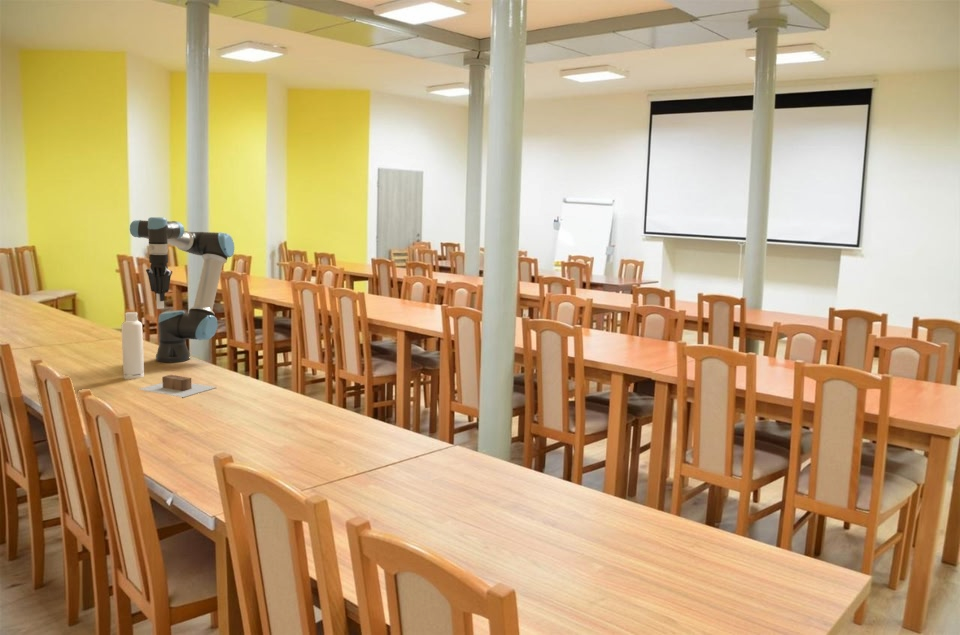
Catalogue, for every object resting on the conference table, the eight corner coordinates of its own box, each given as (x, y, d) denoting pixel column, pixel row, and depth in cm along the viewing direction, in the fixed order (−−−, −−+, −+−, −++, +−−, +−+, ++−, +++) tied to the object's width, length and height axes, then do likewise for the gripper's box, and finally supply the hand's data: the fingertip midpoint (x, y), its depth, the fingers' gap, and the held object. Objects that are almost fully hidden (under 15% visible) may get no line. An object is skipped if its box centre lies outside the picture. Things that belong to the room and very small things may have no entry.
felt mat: (172, 380, 320) (172, 380, 320) (216, 388, 310) (216, 387, 310) (137, 390, 304) (137, 389, 303) (182, 398, 294) (182, 397, 294)
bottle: (138, 379, 320) (136, 314, 316) (120, 379, 320) (117, 313, 316) (147, 375, 328) (145, 311, 324) (129, 374, 328) (126, 311, 324)
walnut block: (171, 374, 310) (191, 377, 306) (171, 385, 311) (191, 388, 307) (162, 376, 306) (182, 380, 302) (162, 387, 307) (183, 391, 303)
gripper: (140, 253, 321) (142, 308, 325) (162, 255, 316) (164, 310, 319) (154, 252, 328) (156, 306, 331) (176, 254, 323) (178, 308, 326)
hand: (160, 308), depth 325 cm, fingers closed
